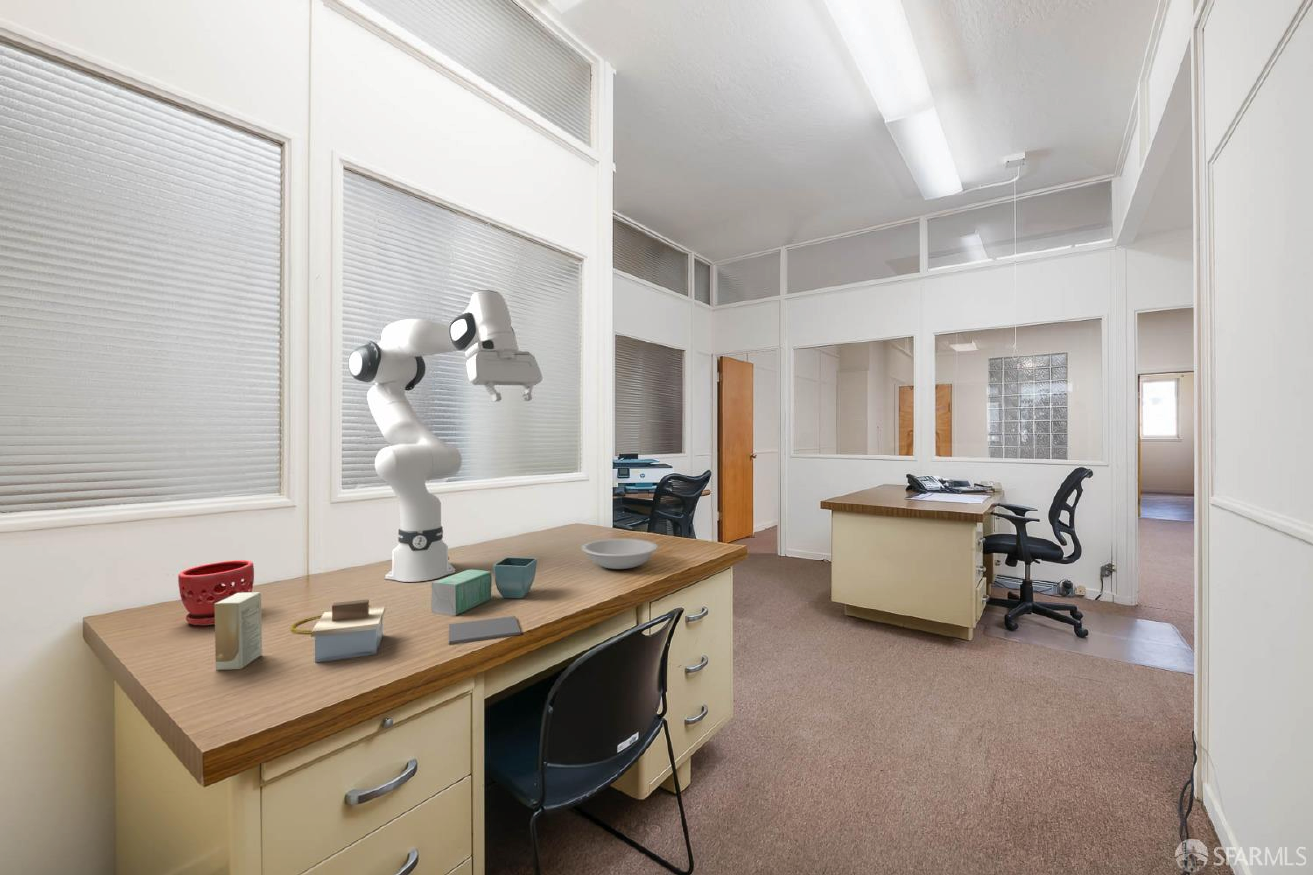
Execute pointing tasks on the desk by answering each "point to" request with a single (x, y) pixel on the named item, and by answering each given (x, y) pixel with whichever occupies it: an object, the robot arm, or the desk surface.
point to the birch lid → (349, 618)
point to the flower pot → (514, 576)
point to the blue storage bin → (347, 644)
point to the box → (461, 592)
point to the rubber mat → (483, 629)
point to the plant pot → (213, 587)
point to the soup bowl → (619, 552)
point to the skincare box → (238, 630)
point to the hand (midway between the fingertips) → (513, 400)
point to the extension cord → (303, 622)
